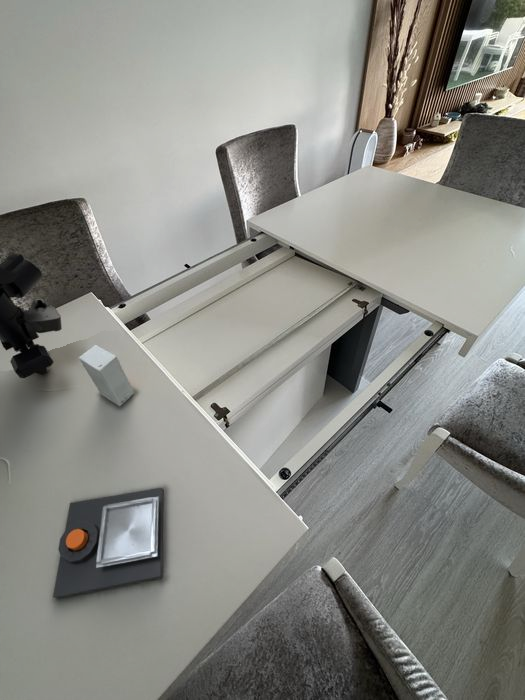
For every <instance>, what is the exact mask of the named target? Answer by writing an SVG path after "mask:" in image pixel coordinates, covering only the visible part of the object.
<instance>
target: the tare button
mask: <svg viewBox="0 0 525 700" xmlns="http://www.w3.org/2000/svg"><path fill="white" fill-rule="evenodd" d="M87 541H88V535H87V533H85V532H84V531H82V530H81V529H76V530H73V531H72V532H70V533H69V535H68V536H67V538H66V545H67V547H69V548H70V549H72V550H80V549H82V548H83V547H84V546H85V545H86V543H87Z"/></svg>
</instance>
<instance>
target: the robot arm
mask: <svg viewBox="0 0 525 700" xmlns="http://www.w3.org/2000/svg"><path fill="white" fill-rule="evenodd" d="M42 279H43V272H42V271H41V270H40V268H39V267H38V266H36V265H35V264H34V263H33V262H31V261H30V260H28V259H27V258H25V257H24V256H23V254H22V253H16V252H11V253H10V254H8V255H7V257H6V258H5V259H4V260H2V262H1V263H0V343H1V345H2V347H3V349H4V350H5V351H8V350H11V349H13V350H14V352H15V353H16V354H14V355H12V357H11V359H10V361H9V363H10V364H11V366H12V369H13V371H14V373H15V374H16V375H17V376H18V378H19V379H27V378H29V377H30V376H33V375H35V374H38V375H41V376H45V375H46V374H48V373H49V370H47V367H49V366H51V367H52V365H53V364H54V362H55V361H54V360H53V358H52V356H51V354H50V353H49V351H48V349H47V347H45V346H44V345H40V344H38V343H36V344H35V342H34V340H37V339H38V338H40V336H39V334H44V333H45V334H46V333H50V332H60V331H61V330H63V329H62V317H61V316H62V315H61V314H60V313H59V311H58V309H57V308H56V307H55V306H53V305H52V304H47V303H46V302H45V301H44V299H43V298H35V299H33V301H32V303H31V305H30V306H29V307H28V309H27V310H25V309H24V308H23V307H21V306H20V305H19V306H18V305H17V304H15V302H14V301H13V300H12V299H14V298H15V299H22V298H24V297H25V296H26V295H27V294H28V293H29V292H30V291H31V290H32V289H33V288H34V287H35V286H36V285H37V284H38V283H40V282H41V280H42ZM29 347H30V348H29ZM18 352H19V353H18Z"/></svg>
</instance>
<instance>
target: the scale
mask: <svg viewBox="0 0 525 700" xmlns="http://www.w3.org/2000/svg"><path fill="white" fill-rule="evenodd" d="M164 496H165V490H164V488H163V487H156V488H150V489H145V490H139V491H133V492H128V493H122V494H116V495H115V494H114V495H110V496H105V497H104V496H103V497H98V498H93V499H86V500H79V501H73V502H70V503H69V507H68V508H69V509H68V512H67V518H66V523H65V529H64V532H63V534H62V535H61V537H60V539H59V544H58V549H57V550H58V552H59V555H60V557H59V562H58V567H57V573H56V578H55V584H54V589H53V595H52V598H53V599H61V598H62V599H63V598H66V597H67V598H68V597H72V596H77V595H78V596H79V595H82V594H88V593H92V592H98V591H102V590H108V589H112V588H117V587H122V586H123V587H124V586H127V585H128V586H129V585H133V584H138V583H143V582H148V581H154V580H158V579H162V578H163V573H164V571H163V569H164V558H163V557H164V500H165V499H164ZM150 497H152V498H153V497H159V518H158V557H154V558H149V559H144V560H139V561H133V562H128V563H123V564H118V565H112V566H107V567H102V568H96V565H97V563H96V559H97V551H98V543H99V535H100V527H101V518H102V510H103V507H104V506H106V505H109V504H115V503H121V502H126V501H132V500H138V499H144V498H150ZM76 529H81V530H82V531H84V532H85V533H87V535H88V541H87V543H86V545H85V546H84V547H83V548H82V549H80V550H72V549H70V548H69V547H67V545H66V538H67V536H68V535H69V533H70V532H72V531H73V530H76Z"/></svg>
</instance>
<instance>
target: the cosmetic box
mask: <svg viewBox="0 0 525 700" xmlns="http://www.w3.org/2000/svg"><path fill="white" fill-rule="evenodd" d="M78 360H79V361H80V363H81V364H82V366H83V368H84V369H85V371H86V373H87V374H88V376H89V377H90V379H91V380H92V382H93V384H94V385H95V387H96V389H97V391H98V392H99V393H100V395H102V396H103V397H105V398H106V399H107V400H109V401H111V402H112V403H114V404H115V405H117V406H119V407H121V406H123V404H125V402H126V401H128V400H129V399H130V398H131V397H132V396H133V395H134V394H135V391H134V388H133V387H132V385H131V382H130V381H129V379H128V376H127V375H126V373H125V371H124V368H123V366H122V364H121V362H120V361H119V359H118V357H117V355H115V354H114V353H112V352H109V351H108V350H106V349H104V348H103V347H100V346H99V345H97V344H94V345H93V346H91V347H90V348H89V349H88V350H87V351H85V352H84V353H83V354H82V355H80V356H79V357H78Z"/></svg>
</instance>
